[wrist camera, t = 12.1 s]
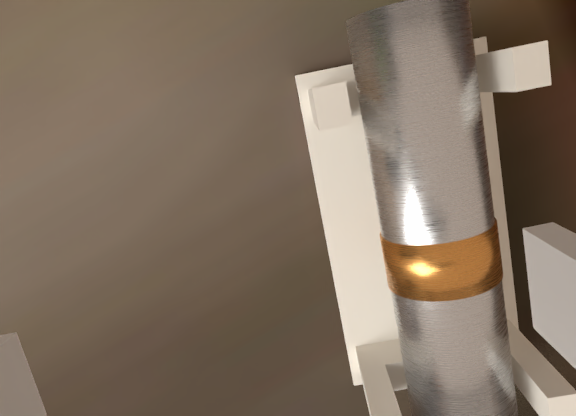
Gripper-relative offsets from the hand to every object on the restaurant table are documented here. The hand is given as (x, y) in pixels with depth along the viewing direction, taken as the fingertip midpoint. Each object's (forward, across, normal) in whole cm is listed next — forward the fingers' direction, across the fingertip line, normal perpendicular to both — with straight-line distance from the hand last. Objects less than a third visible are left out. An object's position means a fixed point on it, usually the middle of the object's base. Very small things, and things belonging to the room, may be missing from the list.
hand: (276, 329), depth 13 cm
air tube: (+18, +8, -5) cm, 21 cm away
